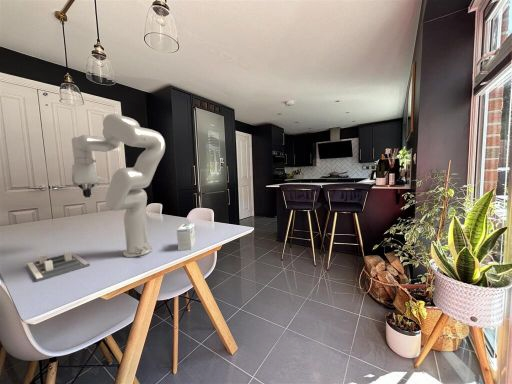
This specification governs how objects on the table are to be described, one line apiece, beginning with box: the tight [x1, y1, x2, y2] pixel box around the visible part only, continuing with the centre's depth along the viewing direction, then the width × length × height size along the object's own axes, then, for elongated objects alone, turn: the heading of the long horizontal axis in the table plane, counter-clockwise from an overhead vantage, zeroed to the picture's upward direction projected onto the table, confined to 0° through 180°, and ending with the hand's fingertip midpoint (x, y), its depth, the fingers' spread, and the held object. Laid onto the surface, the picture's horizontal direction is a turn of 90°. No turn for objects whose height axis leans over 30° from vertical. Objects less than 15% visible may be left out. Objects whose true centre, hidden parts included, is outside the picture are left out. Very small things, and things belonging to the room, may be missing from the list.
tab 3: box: [63, 251, 72, 261], centre depth 95 cm, size 2×2×4 cm
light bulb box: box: [176, 223, 196, 251], centre depth 110 cm, size 11×7×11 cm, turn 5°
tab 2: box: [44, 260, 53, 271], centre depth 85 cm, size 2×2×4 cm
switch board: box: [26, 251, 90, 282], centre depth 92 cm, size 24×16×2 cm, turn 53°
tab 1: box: [38, 253, 48, 264], centre depth 93 cm, size 2×2×4 cm
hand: (87, 197), depth 113 cm, fingers closed
